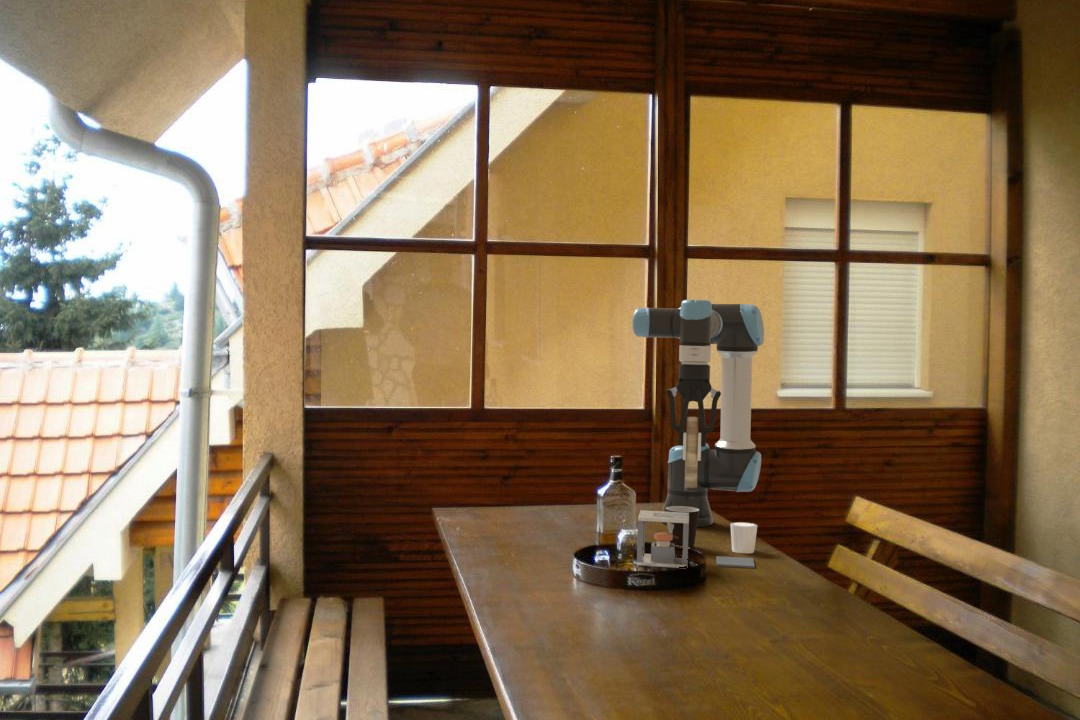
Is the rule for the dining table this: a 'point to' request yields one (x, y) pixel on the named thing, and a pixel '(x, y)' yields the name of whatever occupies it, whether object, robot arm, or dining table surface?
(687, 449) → the dowel
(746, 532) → the white tapered cup
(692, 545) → the coffee mug
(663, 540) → the button
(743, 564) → the coaster
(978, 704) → the dining table surface
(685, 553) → the frame
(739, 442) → the robot arm
